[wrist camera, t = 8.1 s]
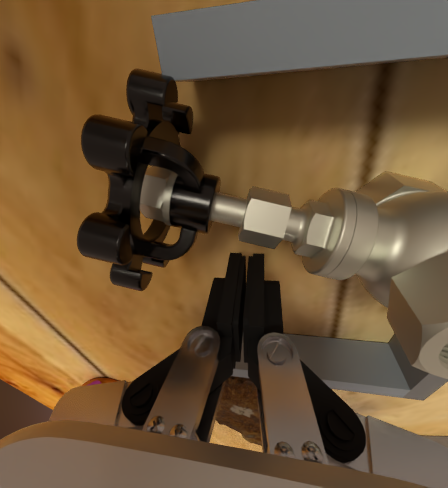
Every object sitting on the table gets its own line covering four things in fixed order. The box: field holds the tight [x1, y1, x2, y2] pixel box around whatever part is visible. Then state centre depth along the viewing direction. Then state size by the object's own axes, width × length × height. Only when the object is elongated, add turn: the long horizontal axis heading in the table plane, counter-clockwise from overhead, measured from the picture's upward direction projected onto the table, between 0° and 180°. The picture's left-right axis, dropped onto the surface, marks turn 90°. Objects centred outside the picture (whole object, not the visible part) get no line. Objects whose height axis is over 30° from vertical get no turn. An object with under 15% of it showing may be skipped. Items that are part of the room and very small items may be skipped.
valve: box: [77, 69, 448, 379], centre depth 7 cm, size 7×7×12 cm
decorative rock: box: [216, 376, 262, 446], centre depth 24 cm, size 11×4×15 cm
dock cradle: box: [151, 0, 448, 400], centre depth 11 cm, size 18×13×3 cm
